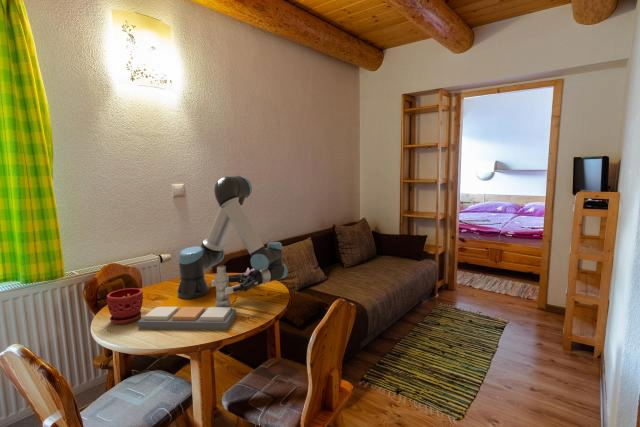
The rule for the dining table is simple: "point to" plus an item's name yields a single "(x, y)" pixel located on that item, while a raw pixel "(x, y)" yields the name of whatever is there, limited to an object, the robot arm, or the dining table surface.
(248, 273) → the lily
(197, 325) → the keypad frame
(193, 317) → the orange key
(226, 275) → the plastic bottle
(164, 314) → the pale key
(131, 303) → the plant pot
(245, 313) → the dining table surface
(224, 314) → the pale key
